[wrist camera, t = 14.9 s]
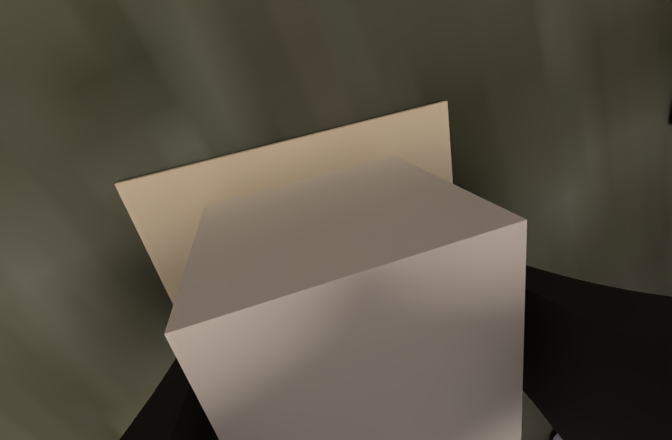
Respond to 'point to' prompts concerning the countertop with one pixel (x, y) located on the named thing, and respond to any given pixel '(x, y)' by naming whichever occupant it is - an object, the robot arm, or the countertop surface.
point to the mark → (273, 176)
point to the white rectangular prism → (356, 310)
